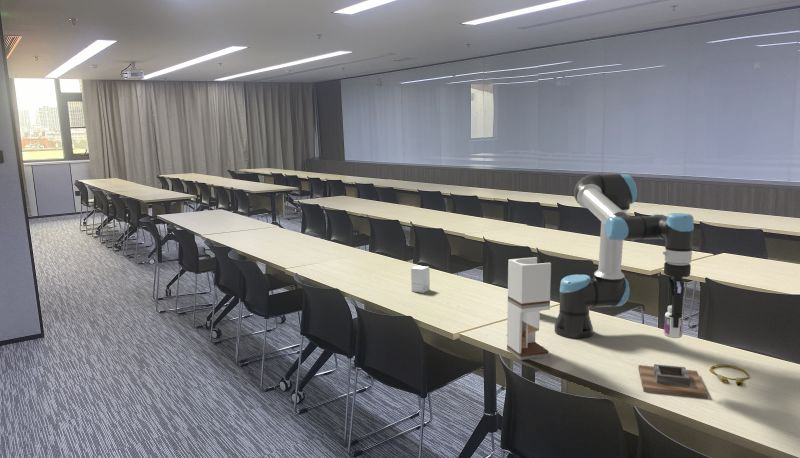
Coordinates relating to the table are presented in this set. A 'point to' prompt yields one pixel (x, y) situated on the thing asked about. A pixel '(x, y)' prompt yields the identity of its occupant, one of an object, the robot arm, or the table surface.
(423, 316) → the table surface
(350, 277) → the table surface
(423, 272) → the supplement box
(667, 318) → the pill bottle
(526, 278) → the white notched tower
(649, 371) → the socket block
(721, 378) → the gold torc necklace
